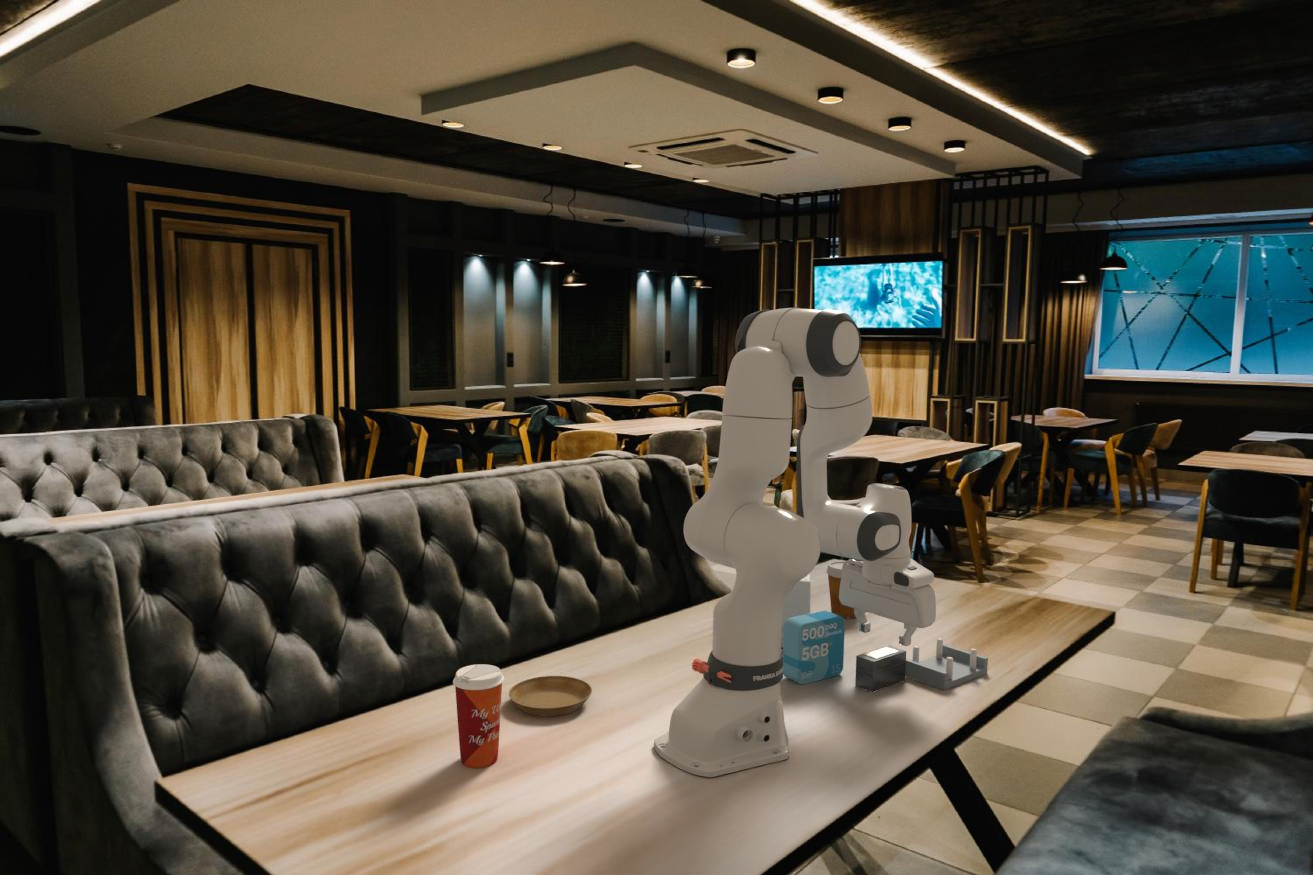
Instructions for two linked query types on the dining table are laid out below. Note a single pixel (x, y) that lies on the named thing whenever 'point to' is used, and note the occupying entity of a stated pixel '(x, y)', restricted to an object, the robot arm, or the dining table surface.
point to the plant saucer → (550, 695)
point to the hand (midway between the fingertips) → (884, 638)
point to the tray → (946, 666)
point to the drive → (880, 668)
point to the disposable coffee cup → (837, 590)
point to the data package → (813, 647)
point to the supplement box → (797, 602)
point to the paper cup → (478, 713)
